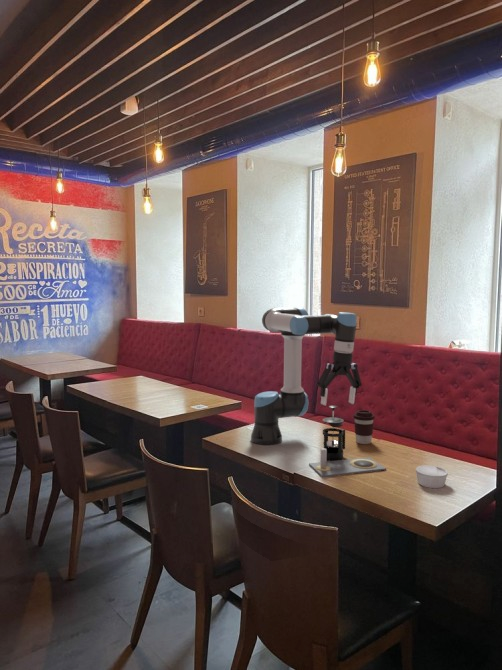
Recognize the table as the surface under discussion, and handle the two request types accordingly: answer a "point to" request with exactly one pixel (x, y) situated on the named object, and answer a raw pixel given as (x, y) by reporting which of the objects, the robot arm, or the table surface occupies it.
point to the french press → (334, 446)
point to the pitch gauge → (344, 466)
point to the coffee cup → (363, 426)
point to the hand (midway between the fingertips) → (337, 403)
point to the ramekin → (431, 476)
